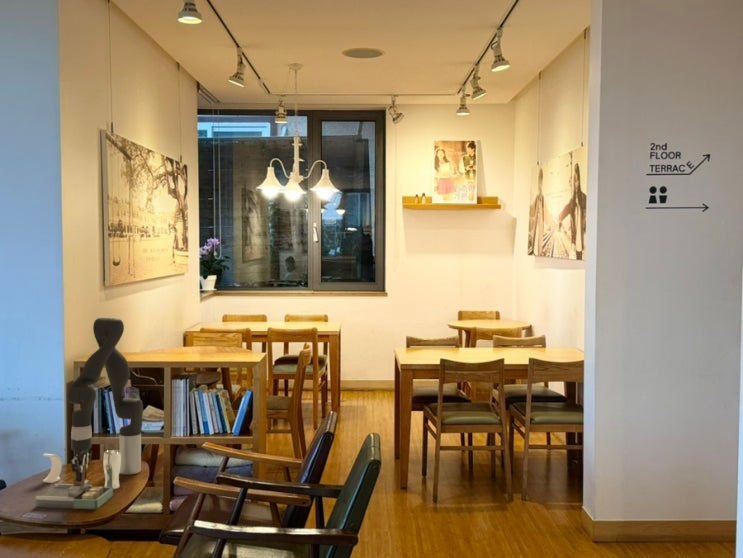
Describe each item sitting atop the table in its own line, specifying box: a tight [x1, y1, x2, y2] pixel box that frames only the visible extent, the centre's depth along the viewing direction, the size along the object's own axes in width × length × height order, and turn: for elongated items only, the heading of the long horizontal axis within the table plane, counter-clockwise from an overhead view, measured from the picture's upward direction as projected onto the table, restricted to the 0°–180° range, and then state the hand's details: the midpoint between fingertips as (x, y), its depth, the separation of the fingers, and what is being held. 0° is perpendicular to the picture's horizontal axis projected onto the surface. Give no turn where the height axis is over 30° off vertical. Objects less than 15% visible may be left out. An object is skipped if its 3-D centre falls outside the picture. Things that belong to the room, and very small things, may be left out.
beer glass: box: [103, 449, 121, 490], centre depth 290 cm, size 7×7×15 cm
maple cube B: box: [82, 492, 97, 500], centre depth 269 cm, size 4×4×4 cm
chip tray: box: [74, 486, 114, 511], centre depth 272 cm, size 15×9×4 cm, turn 177°
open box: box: [35, 483, 93, 510], centre depth 273 cm, size 15×15×4 cm
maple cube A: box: [89, 485, 104, 498], centre depth 275 cm, size 4×4×4 cm
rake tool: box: [68, 461, 90, 497], centre depth 272 cm, size 11×3×12 cm, turn 176°
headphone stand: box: [42, 453, 63, 484], centre depth 297 cm, size 5×6×12 cm
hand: (81, 479), depth 272 cm, fingers closed on rake tool, 3 cm apart
